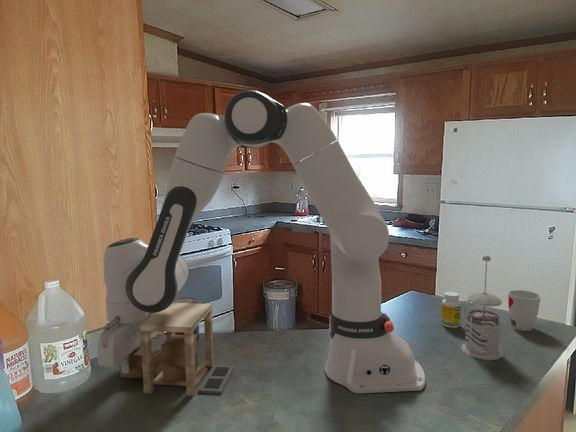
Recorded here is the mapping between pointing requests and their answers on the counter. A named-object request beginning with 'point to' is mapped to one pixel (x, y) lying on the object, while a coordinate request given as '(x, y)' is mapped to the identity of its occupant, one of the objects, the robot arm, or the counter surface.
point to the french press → (477, 344)
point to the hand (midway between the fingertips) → (131, 367)
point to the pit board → (216, 379)
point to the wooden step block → (166, 363)
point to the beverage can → (188, 300)
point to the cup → (523, 309)
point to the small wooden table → (172, 321)
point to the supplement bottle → (451, 310)
